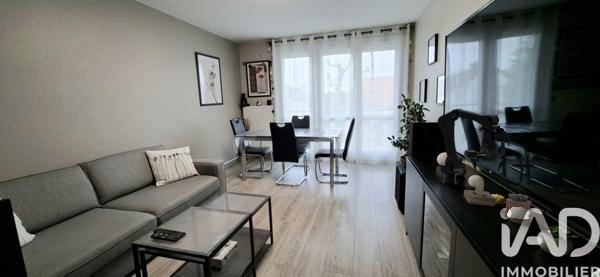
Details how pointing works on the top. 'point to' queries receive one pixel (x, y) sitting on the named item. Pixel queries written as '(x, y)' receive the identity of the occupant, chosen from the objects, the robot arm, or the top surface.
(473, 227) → the top surface
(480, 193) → the pin
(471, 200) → the bore block
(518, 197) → the lighter
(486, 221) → the top surface
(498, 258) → the top surface
